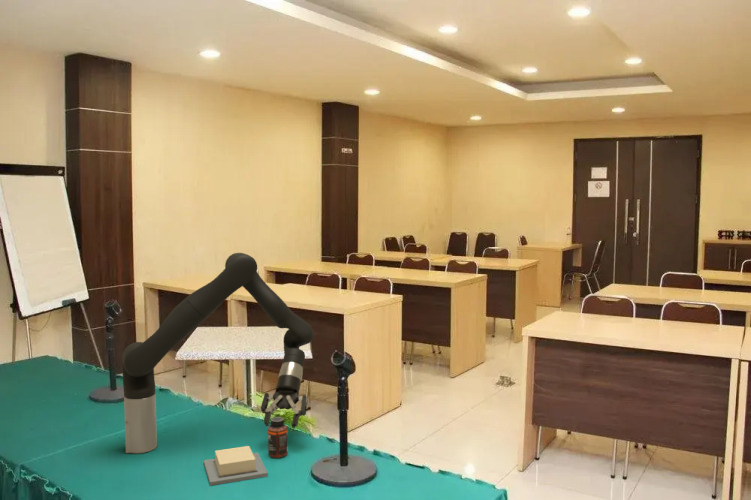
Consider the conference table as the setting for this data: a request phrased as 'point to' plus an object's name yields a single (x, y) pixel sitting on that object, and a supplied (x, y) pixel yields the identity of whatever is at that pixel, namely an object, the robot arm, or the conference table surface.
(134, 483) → the conference table surface
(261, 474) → the board
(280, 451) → the supplement bottle
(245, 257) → the robot arm
